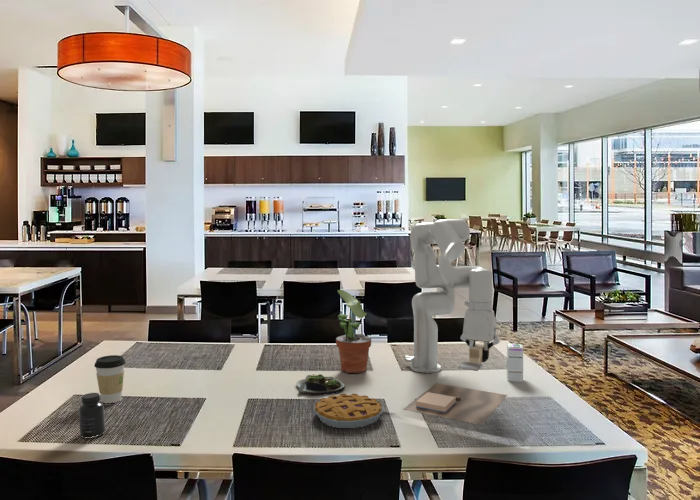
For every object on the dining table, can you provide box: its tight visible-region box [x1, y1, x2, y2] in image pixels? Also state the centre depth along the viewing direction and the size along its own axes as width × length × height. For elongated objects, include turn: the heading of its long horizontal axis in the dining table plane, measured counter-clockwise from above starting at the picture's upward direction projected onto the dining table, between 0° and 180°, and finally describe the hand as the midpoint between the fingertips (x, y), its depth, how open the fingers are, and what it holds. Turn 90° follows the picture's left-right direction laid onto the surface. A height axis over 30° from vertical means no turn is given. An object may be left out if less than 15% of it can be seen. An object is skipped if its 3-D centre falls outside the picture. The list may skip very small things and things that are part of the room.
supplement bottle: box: [78, 392, 106, 437], centre depth 166 cm, size 7×7×12 cm
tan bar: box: [458, 341, 484, 372], centre depth 185 cm, size 18×6×5 cm, turn 150°
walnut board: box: [402, 382, 508, 426], centre depth 188 cm, size 26×30×2 cm
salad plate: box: [296, 373, 346, 396], centre depth 209 cm, size 19×18×5 cm
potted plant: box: [335, 289, 372, 374], centre depth 226 cm, size 16×15×35 cm
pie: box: [313, 393, 384, 429], centre depth 179 cm, size 22×22×5 cm
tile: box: [416, 392, 456, 413], centre depth 185 cm, size 10×2×10 cm
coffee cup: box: [94, 354, 126, 403], centre depth 193 cm, size 10×10×15 cm
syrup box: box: [506, 343, 524, 383], centre depth 212 cm, size 6×6×14 cm
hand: (479, 360), depth 188 cm, fingers closed on tan bar, 3 cm apart
